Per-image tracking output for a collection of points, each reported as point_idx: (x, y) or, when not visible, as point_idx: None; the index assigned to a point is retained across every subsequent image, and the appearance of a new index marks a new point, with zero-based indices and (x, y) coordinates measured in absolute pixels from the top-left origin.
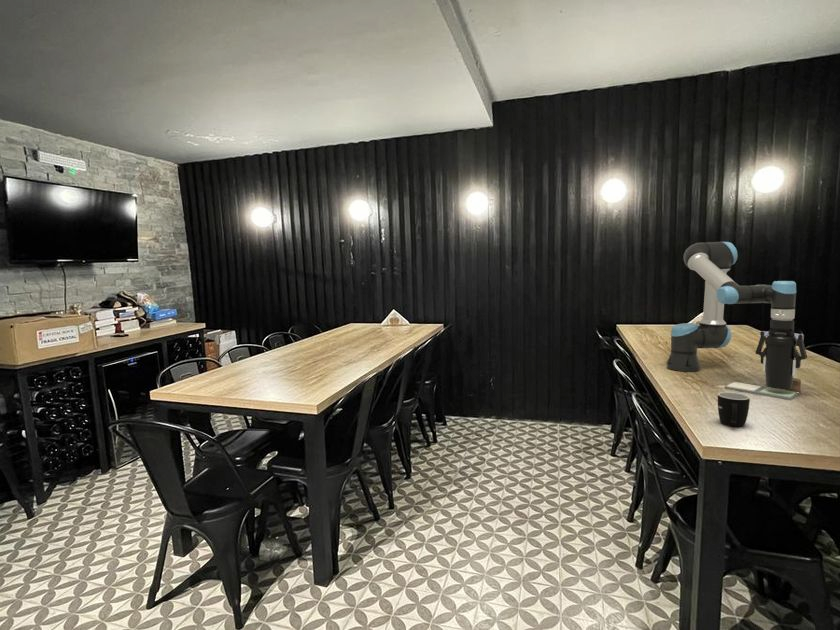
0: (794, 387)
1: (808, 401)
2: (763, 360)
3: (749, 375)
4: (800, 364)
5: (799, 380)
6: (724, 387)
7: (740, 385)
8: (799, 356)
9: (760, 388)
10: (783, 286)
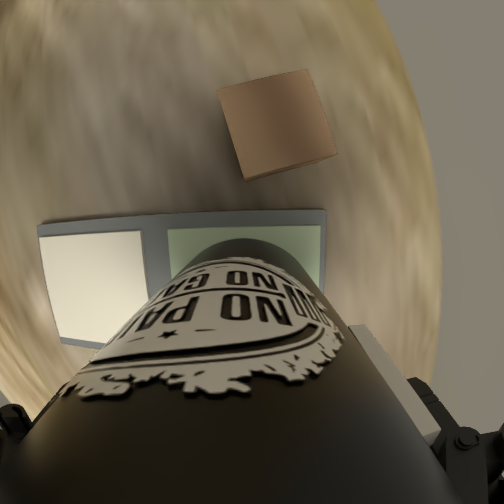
0: (294, 166)
1: (375, 310)
2: None
3: (59, 21)
4: (436, 400)
5: (320, 125)
6: (63, 341)
7: (78, 293)
8: (471, 468)
9: (149, 265)
10: None
